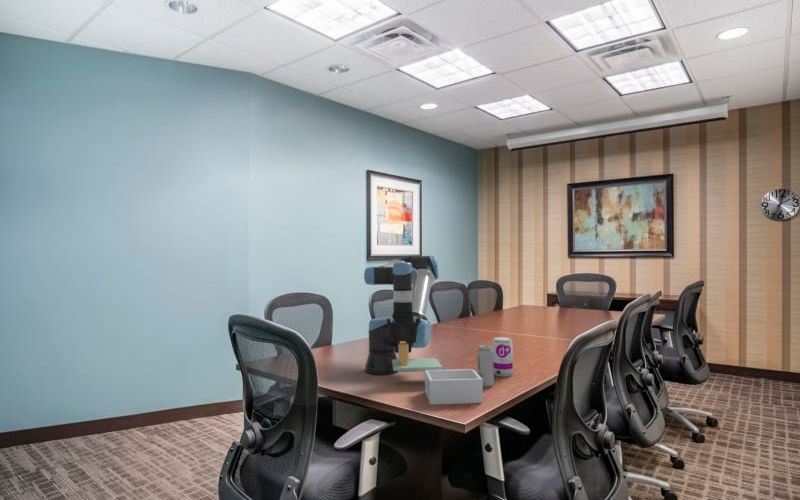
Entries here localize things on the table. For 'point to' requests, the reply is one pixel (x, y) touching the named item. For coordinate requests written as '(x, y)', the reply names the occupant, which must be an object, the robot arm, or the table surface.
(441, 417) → the table surface
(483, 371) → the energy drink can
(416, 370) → the lid
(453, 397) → the tub
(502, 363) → the supplement can
